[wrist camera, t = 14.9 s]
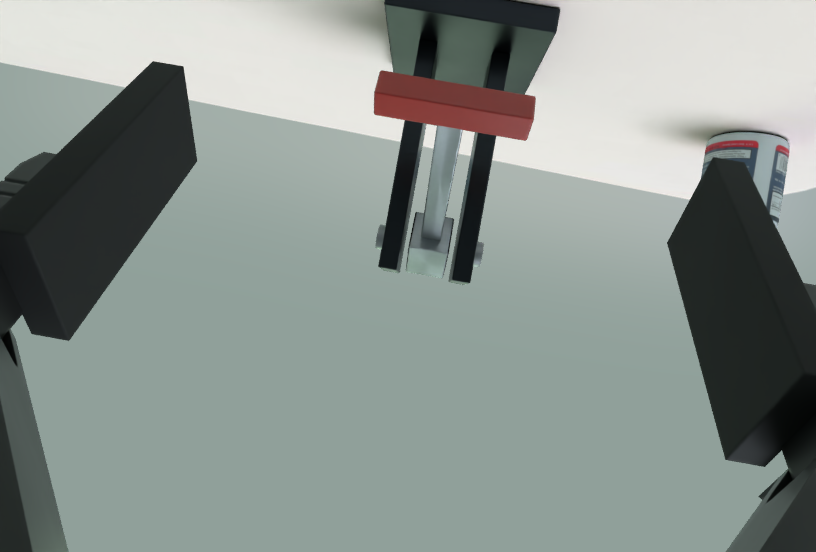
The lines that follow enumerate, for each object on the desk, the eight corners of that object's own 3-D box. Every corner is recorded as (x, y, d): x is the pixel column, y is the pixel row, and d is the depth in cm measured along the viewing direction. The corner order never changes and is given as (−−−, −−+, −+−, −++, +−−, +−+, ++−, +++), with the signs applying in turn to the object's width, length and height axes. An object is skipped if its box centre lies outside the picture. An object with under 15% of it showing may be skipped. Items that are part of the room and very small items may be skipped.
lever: (382, 60, 26) (371, 101, 24) (537, 86, 25) (533, 129, 24) (377, 231, 37) (369, 265, 36) (483, 250, 37) (479, 285, 36)
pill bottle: (693, 144, 46) (674, 259, 46) (731, 125, 41) (709, 255, 41) (762, 156, 46) (743, 272, 46) (808, 139, 41) (787, 269, 41)
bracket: (388, -20, 30) (337, 257, 30) (560, 8, 30) (511, 288, 29) (397, 64, 41) (360, 267, 41) (523, 85, 41) (487, 290, 40)
